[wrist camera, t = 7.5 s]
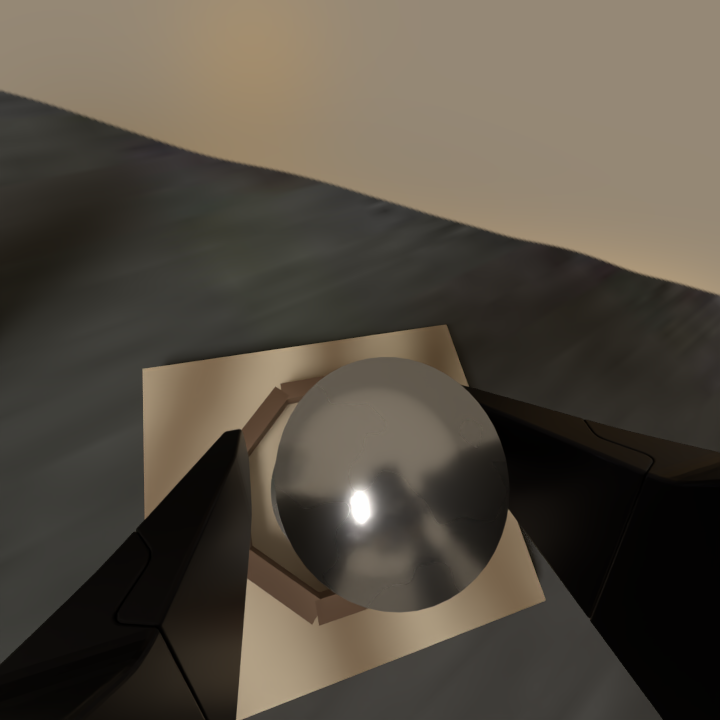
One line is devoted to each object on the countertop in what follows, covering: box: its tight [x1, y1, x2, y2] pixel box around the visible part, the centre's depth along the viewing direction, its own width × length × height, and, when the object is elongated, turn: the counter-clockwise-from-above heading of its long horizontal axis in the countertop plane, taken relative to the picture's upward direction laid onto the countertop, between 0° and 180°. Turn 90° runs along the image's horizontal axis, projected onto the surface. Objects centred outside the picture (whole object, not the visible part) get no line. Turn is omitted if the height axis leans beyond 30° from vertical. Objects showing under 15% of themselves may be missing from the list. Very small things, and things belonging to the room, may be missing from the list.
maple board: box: [143, 325, 546, 720], centre depth 15 cm, size 16×14×2 cm
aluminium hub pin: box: [271, 357, 509, 613], centre depth 11 cm, size 6×6×10 cm
